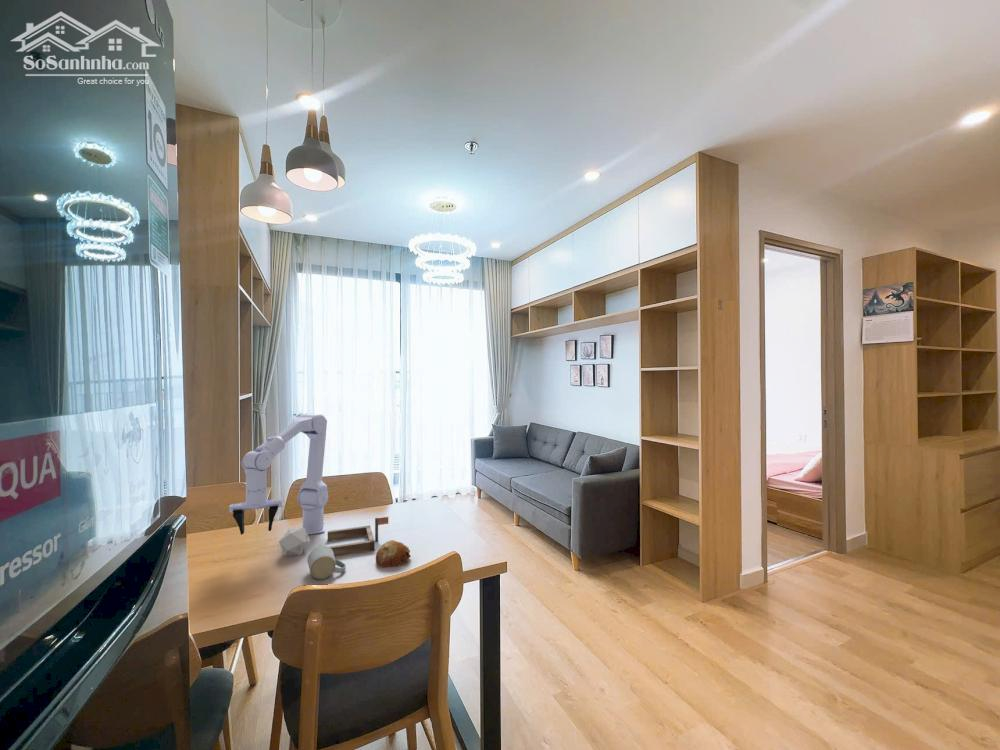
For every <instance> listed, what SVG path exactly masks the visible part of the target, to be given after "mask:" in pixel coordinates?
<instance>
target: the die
mask: <svg viewBox="0 0 1000 750" xmlns="http://www.w3.org/2000/svg"><path fill="white" fill-rule="evenodd" d="M278 543H279V545H280V547H281V550H282V552H283V554H284V556H301V555H302V553H304V551H305V550H306V548H307V547H308V546H309V544H310V543H311V539H310V537H309V535H307V532H306V530H305V528H302V527H300V528H296V527H295V528H288V529H287V530H286V532H285V533H284V534H283V536H282V537H281V538H280V539H279V541H278Z"/></svg>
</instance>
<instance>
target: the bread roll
mask: <svg viewBox="0 0 1000 750" xmlns="http://www.w3.org/2000/svg"><path fill="white" fill-rule="evenodd" d="M410 552H411V550H410V548H409V546H407V545H405V544H404V543H402V542H400V541H396V540H395V539H391V540H388V541H386V542H384V543H383V544H382V545H381V546H380V547H379V548H378V550H377V552H376V554H375V563H376V564H377V566H379V567H380V568H387V569H389V568H396V567H401V566H403V565H405V564H406V563H408V561H409V559H410V558H411V556H412V555H411V554H410Z"/></svg>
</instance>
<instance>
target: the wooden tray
mask: <svg viewBox="0 0 1000 750" xmlns="http://www.w3.org/2000/svg"><path fill="white" fill-rule="evenodd" d="M374 523H375V524H374V527H375V528H374V534H373V531H372V528H371V527H372V526H371V525H363V526H354V527H347V528H340V529H334V530H333V529H332V530H327V542H331V541H336V540H337V541H338V540H343V539H350V538H351V539H352V538H358V537H364V536H365V538H366V540H365V541H358V542H357V541H356V542H350V543H344V544H343V543H342V544H337V545H331V546H328V547H330V548H331V549H332V550H333V552H334V557H341V556H349V555H353V554H354V555H356V554H360V553H368V552H373V551H375V550H376V549H375V548H376V547H375V544H376V542H379V526H382V525H388V524H389V516H382V517H375V518H374ZM374 538H375V539H374Z"/></svg>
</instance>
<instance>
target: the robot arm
mask: <svg viewBox="0 0 1000 750" xmlns="http://www.w3.org/2000/svg"><path fill="white" fill-rule="evenodd" d="M291 421H292V422H291V423H290V424H289V425H288V426H287V427H285V428H284V429H283V430H282V431H281V432H280V433H279V434H278V435H277V436H276V435H272V436H269V437H267V438H266V440H265V441H264V442H263V443H262V444H260V445H259V446H257V447H256V448H255V449H254V450H251V451H248V452H247V453H246V454H245V455H244V456H243V457H242V460H241V461H240V464H241V467H242V468H243V469H244V474H245V501H244V502H239V503H232V504H230V505H229V506H228V507H229V508H228V513H232V517H233V519H234V520H235V522H236V523H237V525H238V528H239V532H240V535H244V533H245V511H250V510H251V511H252V510H259V509H268V532H271V531H272V529H273V523H274V519H275V516H276V514H277V512H278V509H279V508H283V499H268V498H267V497H268V496H267V495H268V492H267V491H268V490H267V489H268V486H267V483H268V482H267V481H268V479H267V478H268V477H267V475H268V473H267V471H268V468H269V467H270V466H271V463H272V461H273V460H274V458H275V457H276V456H278V454H280V453H281V452H282V451H283V450H284V449H285V446H286V445H285V444H286V443H288V442H289V441H291V440H292V439H293V438H294V437H296V436H297V435H298V434H300V433H303V434H305V435H306V436H307V437H308V438H309V448H308V459H307V467H306V468H307V469H306V478H305V479H306V480H305V482H303V483H302V484H301V485H300V488H299V492H298V494H297V497H296V498H297V503H298V504H299V505H300V508H302V526H301V528H305V530H306V532H307V535H308V536H309V535H315V534H322V533H326V532H325V531H326V529H325V528H326V525H325V522H324V509H325V508H324V507H325V506H326V505H327V503H328V501H329V492H328V485H327V484H326V483H325V482H324V481H323V473H324V472H323V470H324V461H325V452H326V451H325V449H326V438H327V424H328V419H327V418H326V417H325V416H324V414H321V413H319V414H315V413H313V414H310V413H298V414H297V415H296V416H294V417H293V418H292V420H291Z"/></svg>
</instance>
